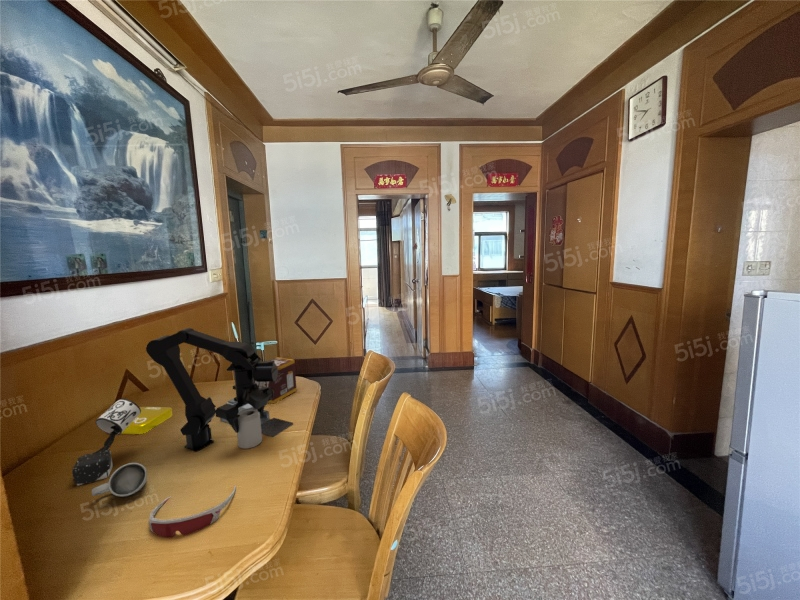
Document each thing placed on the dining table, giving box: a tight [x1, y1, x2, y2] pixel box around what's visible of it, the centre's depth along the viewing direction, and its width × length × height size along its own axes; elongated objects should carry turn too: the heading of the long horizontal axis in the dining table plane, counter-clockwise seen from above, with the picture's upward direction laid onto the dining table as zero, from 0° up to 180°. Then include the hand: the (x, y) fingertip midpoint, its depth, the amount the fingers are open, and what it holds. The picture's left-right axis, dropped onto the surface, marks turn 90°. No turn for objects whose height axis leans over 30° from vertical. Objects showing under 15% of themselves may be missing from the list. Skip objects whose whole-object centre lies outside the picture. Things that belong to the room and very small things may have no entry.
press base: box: [219, 409, 294, 438], centre depth 125 cm, size 10×28×3 cm, turn 65°
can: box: [236, 408, 263, 450], centre depth 110 cm, size 8×8×12 cm
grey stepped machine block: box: [225, 398, 253, 411], centre depth 127 cm, size 6×12×7 cm, turn 65°
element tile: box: [120, 406, 173, 435], centre depth 126 cm, size 15×15×5 cm
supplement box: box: [254, 356, 297, 405], centre depth 149 cm, size 10×15×16 cm
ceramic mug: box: [91, 462, 148, 498], centre depth 87 cm, size 11×8×8 cm
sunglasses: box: [148, 484, 237, 538], centre depth 81 cm, size 17×17×5 cm
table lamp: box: [71, 398, 141, 487], centre depth 98 cm, size 25×10×10 cm
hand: (248, 425), depth 110 cm, fingers open, 9 cm apart
